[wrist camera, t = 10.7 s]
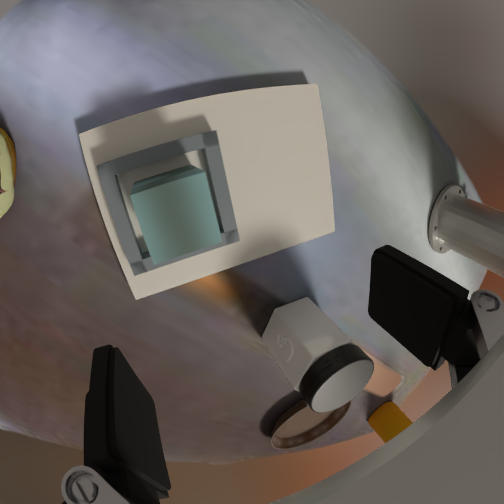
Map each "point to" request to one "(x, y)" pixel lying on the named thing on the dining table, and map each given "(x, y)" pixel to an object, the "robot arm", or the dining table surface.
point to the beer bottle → (388, 421)
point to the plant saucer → (304, 425)
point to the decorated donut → (6, 172)
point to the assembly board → (218, 177)
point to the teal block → (175, 213)
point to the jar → (316, 355)
